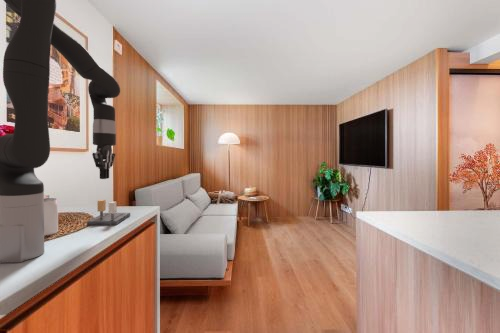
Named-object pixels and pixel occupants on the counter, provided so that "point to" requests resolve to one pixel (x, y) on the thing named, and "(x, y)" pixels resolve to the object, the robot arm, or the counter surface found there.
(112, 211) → the knob
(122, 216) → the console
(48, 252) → the counter surface
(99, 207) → the knob
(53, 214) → the can
